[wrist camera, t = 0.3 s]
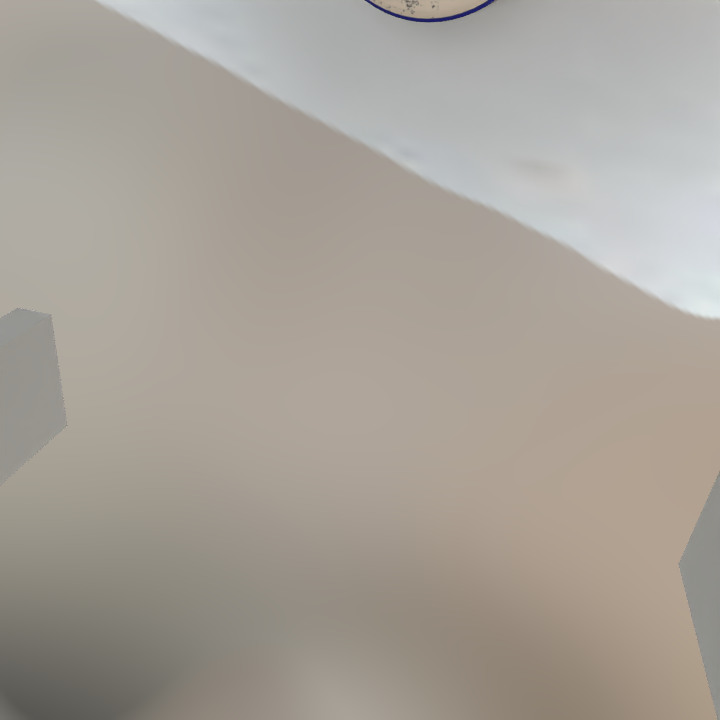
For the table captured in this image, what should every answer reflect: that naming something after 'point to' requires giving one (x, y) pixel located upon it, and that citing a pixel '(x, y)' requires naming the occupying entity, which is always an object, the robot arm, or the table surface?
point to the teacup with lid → (429, 8)
